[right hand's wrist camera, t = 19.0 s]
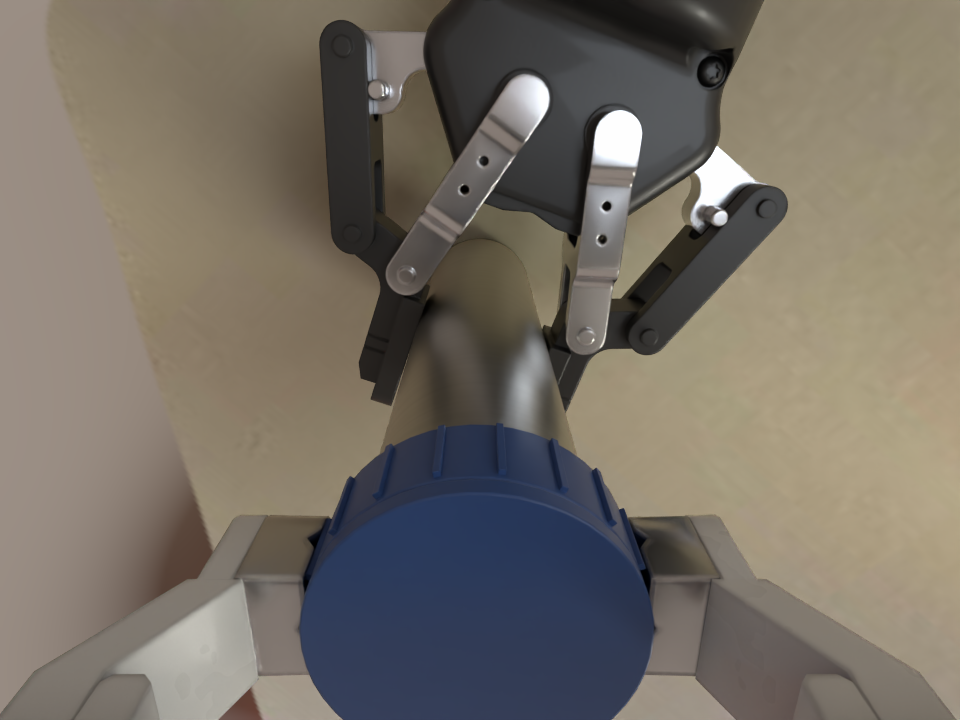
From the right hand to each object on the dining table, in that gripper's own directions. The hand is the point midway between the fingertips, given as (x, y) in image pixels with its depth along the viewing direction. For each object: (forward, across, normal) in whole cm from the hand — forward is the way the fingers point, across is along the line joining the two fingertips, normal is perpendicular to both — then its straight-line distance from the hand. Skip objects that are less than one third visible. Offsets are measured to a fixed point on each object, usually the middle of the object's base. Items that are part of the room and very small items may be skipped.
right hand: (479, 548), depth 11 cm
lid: (-2, 0, 0) cm, 2 cm away
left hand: (+10, -1, -3) cm, 11 cm away
